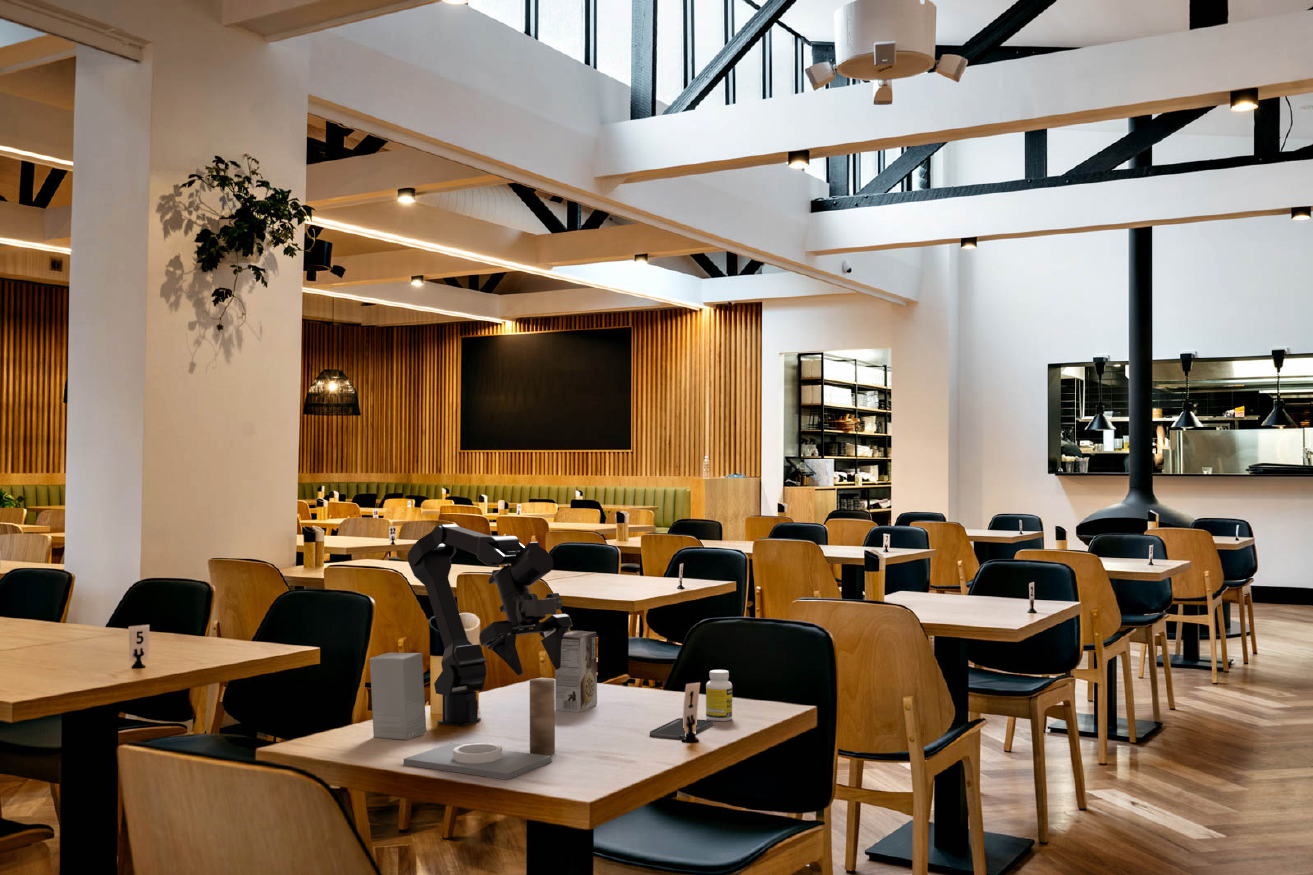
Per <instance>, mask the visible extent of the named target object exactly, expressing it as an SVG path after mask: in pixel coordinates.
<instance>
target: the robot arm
mask: <svg viewBox="0 0 1313 875" xmlns="http://www.w3.org/2000/svg"><path fill="white" fill-rule="evenodd" d="M457 549H458V550H462V551H465V552H468V553H472V554H474V555H476V558H477V560H478V561H480V562H481V563H483V564H484V565H486V566H488V567H493V566H496V567H497V566H502V567H501V568H500V569H493V570H492V572H491V575H490V577H489V579H488V584H489V585H495V584H496V587H497V589H498V593H499V597H500V600H501V603H502V605H500V606H499V607H498V608H499V610H500V613H505V616H506V618H507V619H506V620H499V621H498V620H497V621H493V622H491V623H490V624H488V625H487V626H486V627H484V628H483V629H481V631H480V633H479V637H478V638H479V642H480V643H476V644H473V643H472V642H471V641H470V640H469V638H468V635H467V633H466V629H465V626H464V623H463V620H462V616H461V614H460V610H459V608H458V604H457V601H456V598H455V595H454V592H453V590H452V586H451V582H450V579H449V577H450V576H449V575H450V572H451V569H452V560H451V559H452V558H453V557H454V556H455V554H456V553H457ZM407 562H408V565H409V567H410V570H411V571H412V574H413V576H414V578H416V579H417V580H418V581H419V582H420V583H421V584H423V586H425V589H426V590H425V591H426V592H427V595H428V599H429V603H430V606H431V609H432V611H433V615H434V618H435V621H436V625H437V628H438V631H439V634H440V638H441V640H442V644H443V647H444V651H443V656H442V658H441V669H442V671H441V672H440V674H439V676H437V678H436V679H435V681H434V684H433V685H434V691H435V694H437V695H442V719H440V720H437V722H436V723H437V724H439V725H449V726H454V727H455V726H456V727H465V726H468V725H471V724H474V723H478V722H481V721H482V718H481V717H479V716H478V711H479V710H478V699H477V692H481V691H483V690H484V686H485V682H486V676H487V671H488V670H487V664H486V663H487V659H486V658H485V656H484V653H483V649H482V647H487V650H489V651H493V652H494V653H495V654H496V656H498V657H499V658H500V659H501V660H503V661H504V662H505V664H506V665H508V667H510V669H512V671H513V672H514V673H515V674H516V675H517V676H518V677H519V676H522V675H523V668H522V664H521V660H520V656H519V653H518V650H517V646H516V642H517V636H521V635H522V636H523V635H530V634H539V636H540V637H542V638H543V639H541V640H540V642H541V643H542V646H543V648H544V649H545V650H544V651H546V654H547V656H548V658H549V660H550V662H551V664H552V666H553V667H554V669H556V670H558V669H559V668H560V667H561V644H562V638H563V636H564V634H565V633H566V632H569V630H570V629H571V627H573V622H572V619H571V617H570V615H569V614H566V613H561V614H560V613H559V614H557V611H558V610H561V609H562V608H563V602H562V598H561V596H560V594H559V592H555V593H553V592H552V593H547V594H546V597H545V598H543V599H542V598H541V599H539V598H538V595H537V594H536V593H531V591H530V588H529V586H533V585H534V584H535V583H537V582H538V581H539V580H540V579H542V578H543V577H545V576H546V575H547V574H549V573H550V572H552V570H553V568H554V558H553V557H552V555H551V554H550V553H549V552H548V550H546V549H545V548H543V547H541V546H540V543H539V542H538V541H530V542H528V543H526V545H525V546H524V545H523V544H522V543H521V542H520V539H519V538H518V537H517V536H516V535H488V534H485V533H482V532H478V531H475V530H472V529H468V528H464V527H461V526H459V525H458V524H456V523H455V524H446V523H445V524H438V525H436V526H435V527H433V529H432V530H431V531H430V532H429V533H428V534H425V535H424V536H422V537H421V538H419V539H418V540H417V541H416V542H415V543H414V544H413V545H412V546H411V548H410V549H409V551H408V552H407ZM459 614H460V615H459ZM546 615H550V616H549V617H548V618H546V617H547V616H546ZM436 617H437V618H436ZM544 619H545V620H544ZM541 620H543V621H542V622H541Z"/></svg>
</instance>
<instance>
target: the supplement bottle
mask: <svg viewBox="0 0 1313 875" xmlns="http://www.w3.org/2000/svg"><path fill="white" fill-rule="evenodd" d="M729 674H730V672H729V670H726V669H712V670H710V671H709V679H710V680H708V681H707V682H706V684H705V690H706V691H705V693H706V694H705V717H706V720H710V721H713V722H726V721H727V722H728V721H730V720H732V719H733V684H732V682H731V681H729V679H730V678H729V677H730V675H729Z"/></svg>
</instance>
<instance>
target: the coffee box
mask: <svg viewBox="0 0 1313 875" xmlns="http://www.w3.org/2000/svg"><path fill="white" fill-rule="evenodd" d="M597 661H598V660H597V632H596V631H587V630H585V631H584V630H568V632H566V633H565V634H564V636H563V638H562V644H561V667H560V668H559V669H558V670H556V669H555V668H554V669H555V671H554V674H555V675H554V676H555V678H554V680H555V712H556V711H559V712H570V713H571V712H572V713H573V712H575V713H583V712H584V711H587V710H589V709H591V708H592V707H594V706H595V705H597V704H598V683H597V682H598V681H597V680H598V679H597V678H598V677H597V674H598V672H597V671H598V670H597V669H598V667H597V664H598V663H597Z"/></svg>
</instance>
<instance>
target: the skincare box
mask: <svg viewBox="0 0 1313 875" xmlns="http://www.w3.org/2000/svg"><path fill="white" fill-rule="evenodd" d="M423 666H424V665H423V653H422V652H386V653H383V654H380V655H376V656H373V657H370V658H369V667H370V669H369V670H370V686H371V687H370V688H371V711H372V728H373V729H372V730H373V732H372V734H373V738H377V739H378V738H379V739H392V740H394V739H395V740H405V741H406V740H410V739H413V738H415V737H419V736H421V735H425V734H426V733H427V720H426V719H427V718H426V715H427V714H426V702H425V701H426V700H425V687H424V686H425V684H424V667H423Z"/></svg>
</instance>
